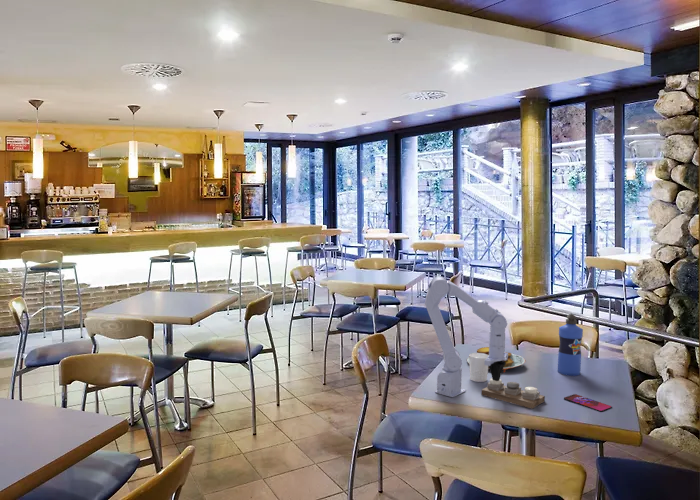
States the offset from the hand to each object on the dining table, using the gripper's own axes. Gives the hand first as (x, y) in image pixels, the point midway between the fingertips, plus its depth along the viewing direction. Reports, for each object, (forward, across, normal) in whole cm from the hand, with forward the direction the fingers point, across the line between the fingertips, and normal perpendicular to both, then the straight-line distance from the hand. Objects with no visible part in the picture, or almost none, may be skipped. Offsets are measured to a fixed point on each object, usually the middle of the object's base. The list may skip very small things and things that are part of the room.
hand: (495, 380), depth 210 cm
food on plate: (+6, +34, +18) cm, 39 cm away
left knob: (+3, 0, 0) cm, 3 cm away
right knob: (+3, 0, -14) cm, 14 cm away
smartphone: (+6, +14, -29) cm, 33 cm away
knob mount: (+5, 0, -7) cm, 9 cm away
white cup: (+5, +10, +13) cm, 17 cm away
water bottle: (+5, +45, -10) cm, 46 cm away
